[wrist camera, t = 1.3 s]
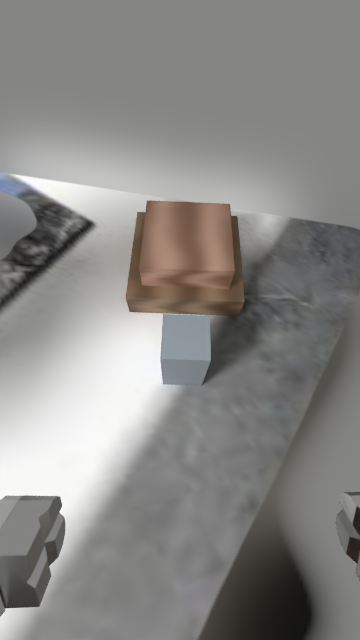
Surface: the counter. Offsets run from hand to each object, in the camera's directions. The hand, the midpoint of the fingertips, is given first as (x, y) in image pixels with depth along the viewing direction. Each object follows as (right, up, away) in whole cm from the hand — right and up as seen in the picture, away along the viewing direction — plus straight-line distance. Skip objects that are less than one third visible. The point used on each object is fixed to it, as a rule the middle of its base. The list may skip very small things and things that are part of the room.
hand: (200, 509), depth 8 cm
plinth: (0, +14, +37) cm, 39 cm away
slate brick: (0, -1, +30) cm, 30 cm away
